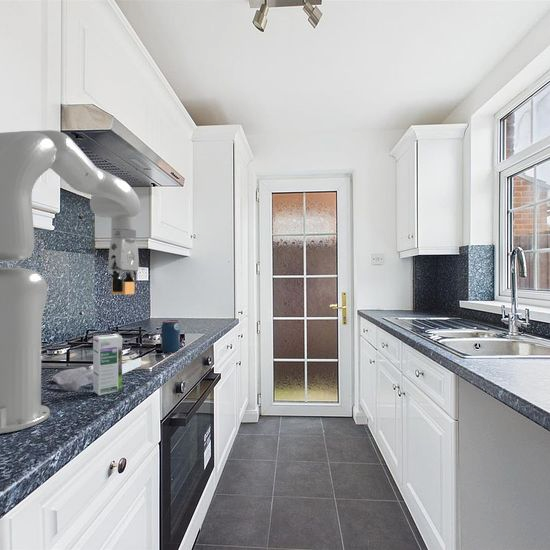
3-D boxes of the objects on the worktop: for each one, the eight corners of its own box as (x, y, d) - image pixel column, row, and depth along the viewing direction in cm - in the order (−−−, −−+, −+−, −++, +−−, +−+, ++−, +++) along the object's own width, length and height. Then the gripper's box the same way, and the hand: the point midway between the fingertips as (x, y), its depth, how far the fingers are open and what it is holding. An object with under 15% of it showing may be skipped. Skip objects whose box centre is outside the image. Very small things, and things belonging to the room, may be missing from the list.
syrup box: (98, 396, 88) (98, 338, 88) (92, 390, 93) (92, 334, 93) (122, 391, 92) (122, 335, 92) (115, 385, 97) (116, 332, 96)
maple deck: (114, 380, 101) (114, 377, 101) (88, 378, 103) (88, 375, 103) (151, 364, 120) (151, 361, 120) (128, 362, 121) (128, 359, 121)
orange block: (125, 294, 114) (125, 282, 114) (111, 294, 115) (111, 281, 115) (134, 293, 119) (134, 282, 119) (121, 293, 120) (121, 281, 120)
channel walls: (114, 380, 101) (114, 368, 101) (88, 378, 103) (88, 366, 103) (141, 368, 114) (141, 357, 114) (117, 367, 116) (117, 356, 116)
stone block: (74, 400, 91) (108, 382, 100) (70, 382, 90) (104, 366, 99) (47, 394, 97) (82, 377, 105) (43, 377, 96) (78, 362, 105)
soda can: (183, 351, 139) (183, 321, 139) (167, 354, 134) (167, 322, 134) (173, 348, 144) (173, 319, 144) (157, 351, 139) (157, 321, 139)
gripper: (117, 232, 108) (116, 292, 108) (148, 238, 125) (147, 290, 125) (95, 233, 110) (94, 292, 110) (129, 239, 126) (128, 290, 126)
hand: (123, 290), depth 117 cm, fingers closed on orange block, 4 cm apart
